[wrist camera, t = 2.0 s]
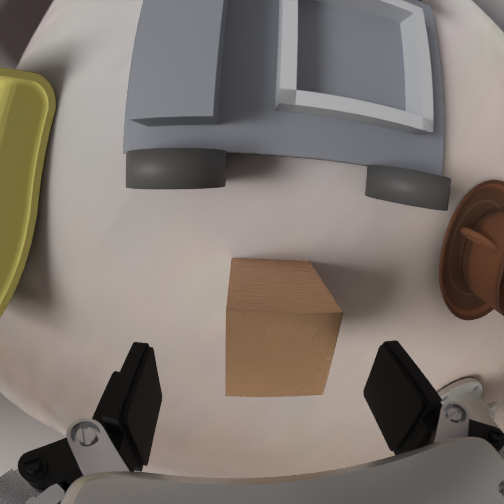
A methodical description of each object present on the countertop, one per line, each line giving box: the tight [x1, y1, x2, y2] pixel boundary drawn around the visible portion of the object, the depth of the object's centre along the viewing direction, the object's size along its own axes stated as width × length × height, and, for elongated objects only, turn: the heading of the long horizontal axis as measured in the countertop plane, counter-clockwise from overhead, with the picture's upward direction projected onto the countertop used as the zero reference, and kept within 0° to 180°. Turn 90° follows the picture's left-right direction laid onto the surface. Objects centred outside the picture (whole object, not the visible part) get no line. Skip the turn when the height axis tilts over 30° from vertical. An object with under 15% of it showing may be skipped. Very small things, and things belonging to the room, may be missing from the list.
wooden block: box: [226, 258, 343, 397], centre depth 16 cm, size 5×5×7 cm
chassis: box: [123, 0, 451, 211], centre depth 12 cm, size 20×18×5 cm
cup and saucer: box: [439, 180, 504, 320], centre depth 16 cm, size 12×12×6 cm
